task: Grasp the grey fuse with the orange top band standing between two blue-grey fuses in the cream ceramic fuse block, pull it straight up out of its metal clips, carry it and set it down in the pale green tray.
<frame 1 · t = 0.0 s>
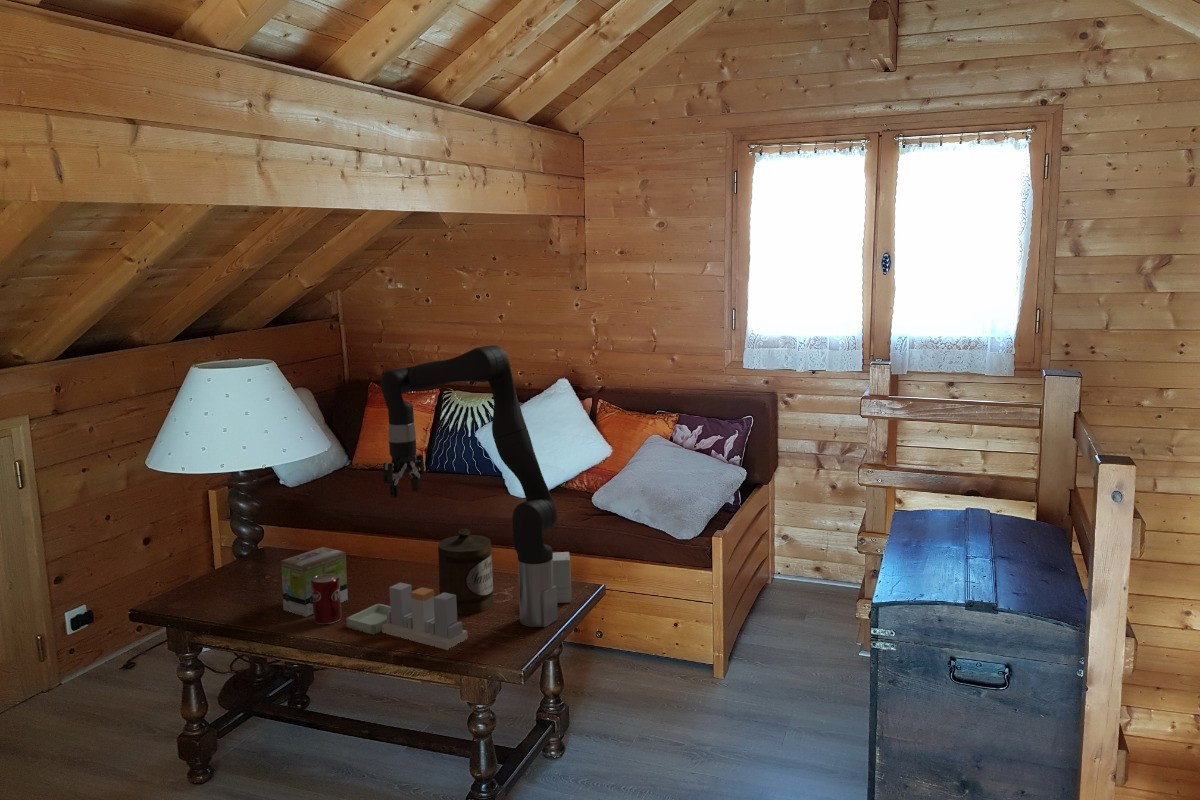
hand: (405, 494, 267), 29 cm above the table, tool pointing down, fingers open, 8 cm apart
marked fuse: (424, 628, 240), point 2 cm above the table, touching fuse block
soda can: (327, 621, 252), on the table
tea box: (316, 606, 262), on the table
tray: (376, 622, 249), on the table
supplement box: (558, 599, 264), on the table
wooden container: (467, 605, 261), on the table
fuse block: (424, 635, 240), on the table
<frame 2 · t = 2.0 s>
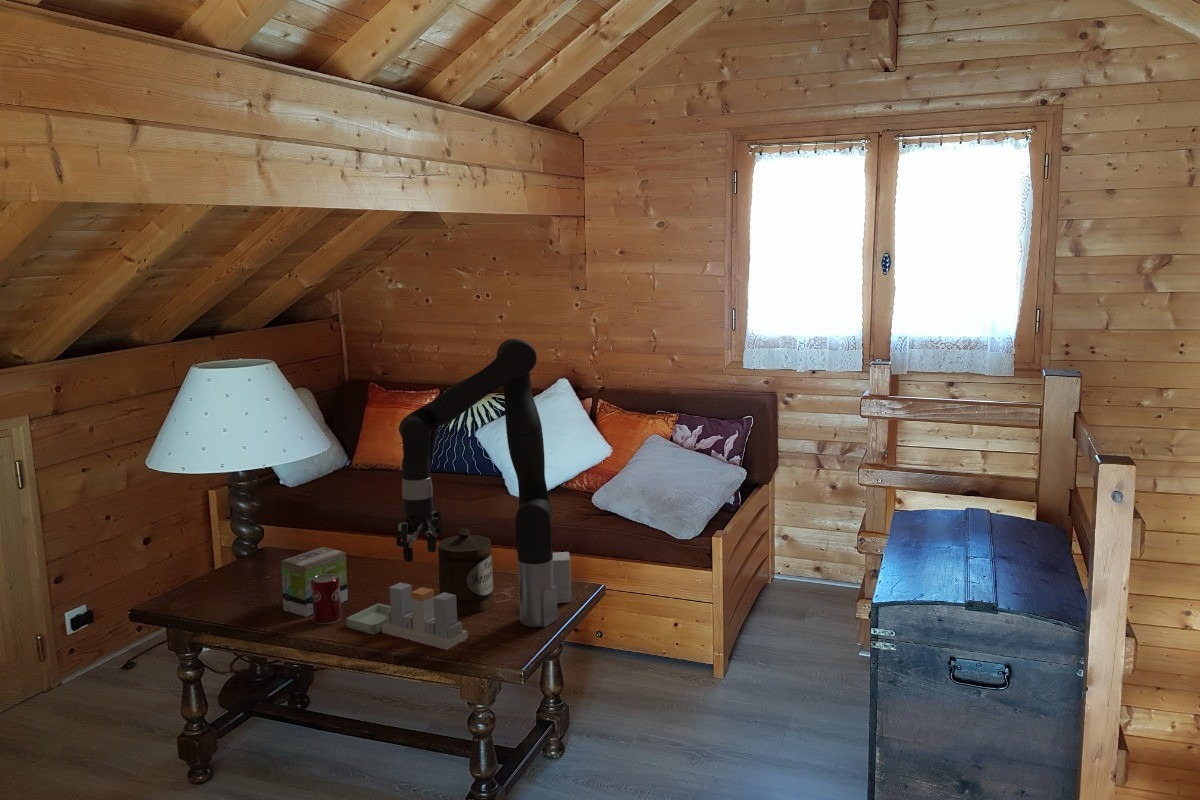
hand: (420, 556, 237), 21 cm above the table, tool pointing down, fingers open, 8 cm apart
nothing on the table moved.
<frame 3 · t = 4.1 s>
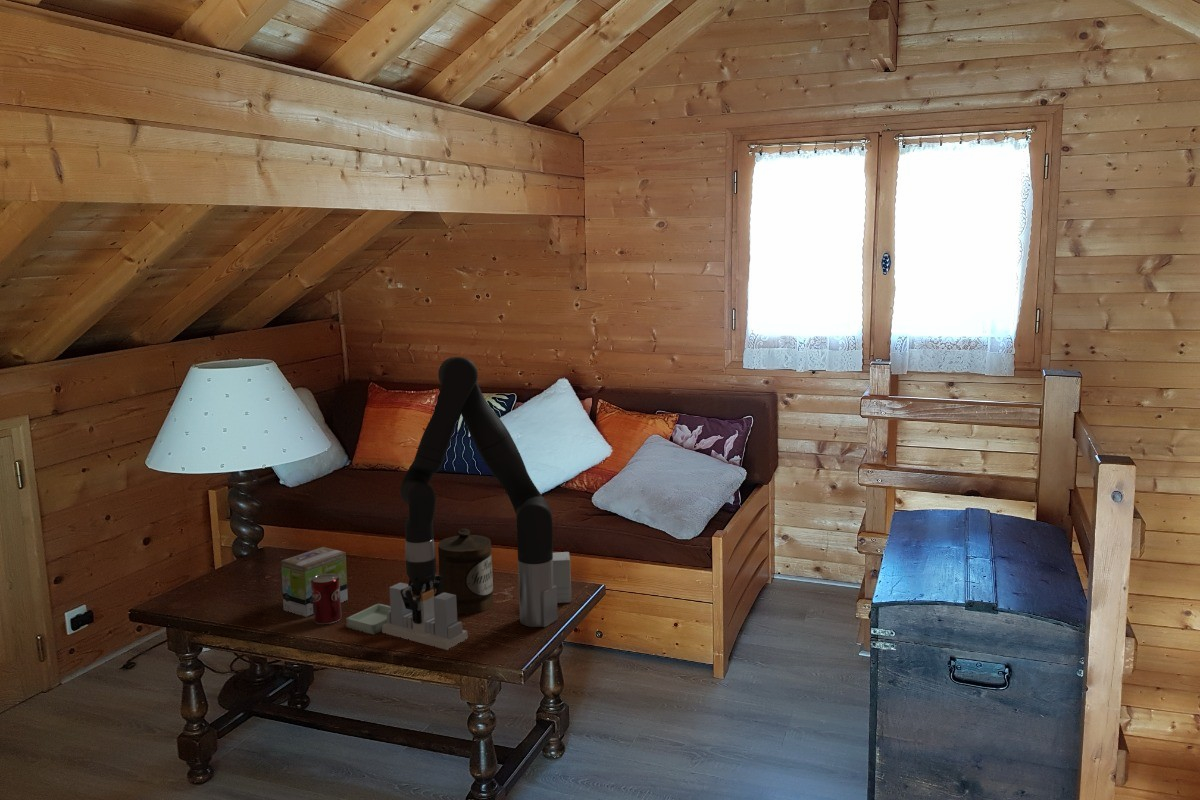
hand: (423, 619, 240), 4 cm above the table, tool pointing down, fingers closed on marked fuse, 4 cm apart
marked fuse: (424, 628, 240), point 2 cm above the table, touching fuse block, gripper
everything else where it was.
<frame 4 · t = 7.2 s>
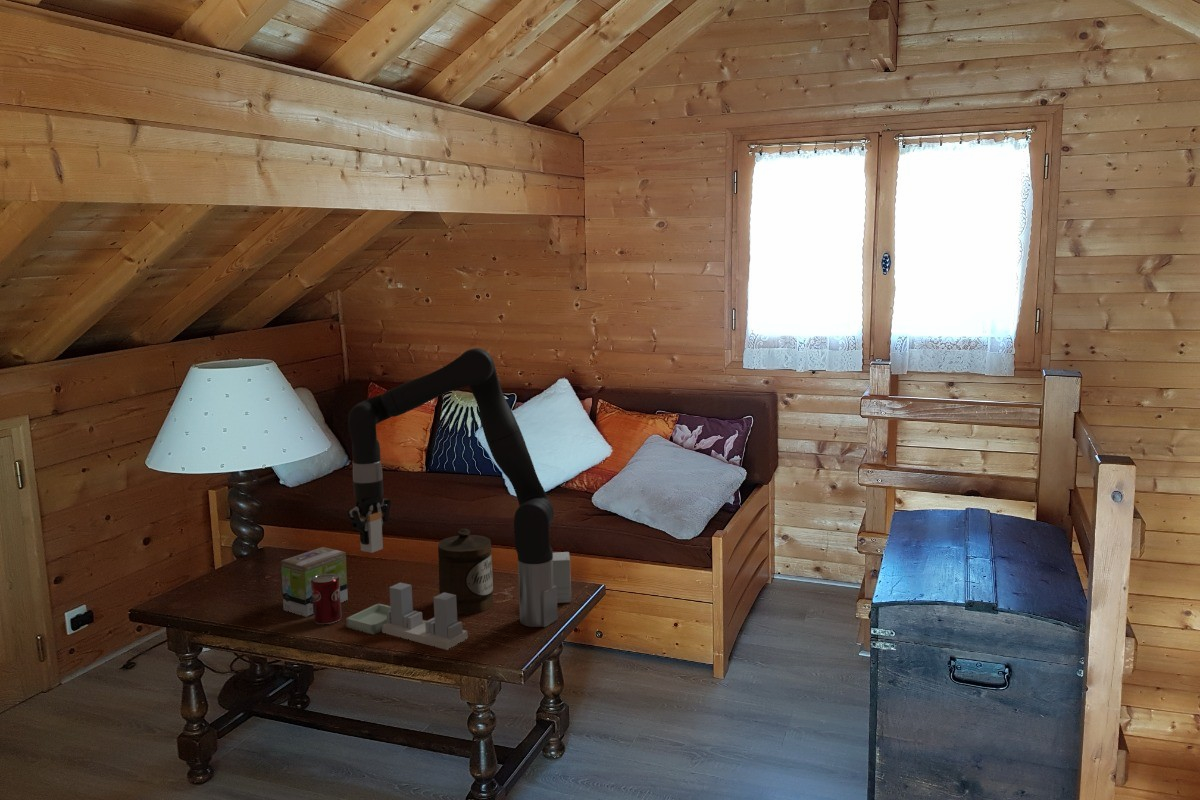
hand: (371, 541, 246), 23 cm above the table, tool pointing down, fingers closed on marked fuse, 4 cm apart
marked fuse: (371, 549, 246), point 20 cm above the table, touching gripper
everything else where it was.
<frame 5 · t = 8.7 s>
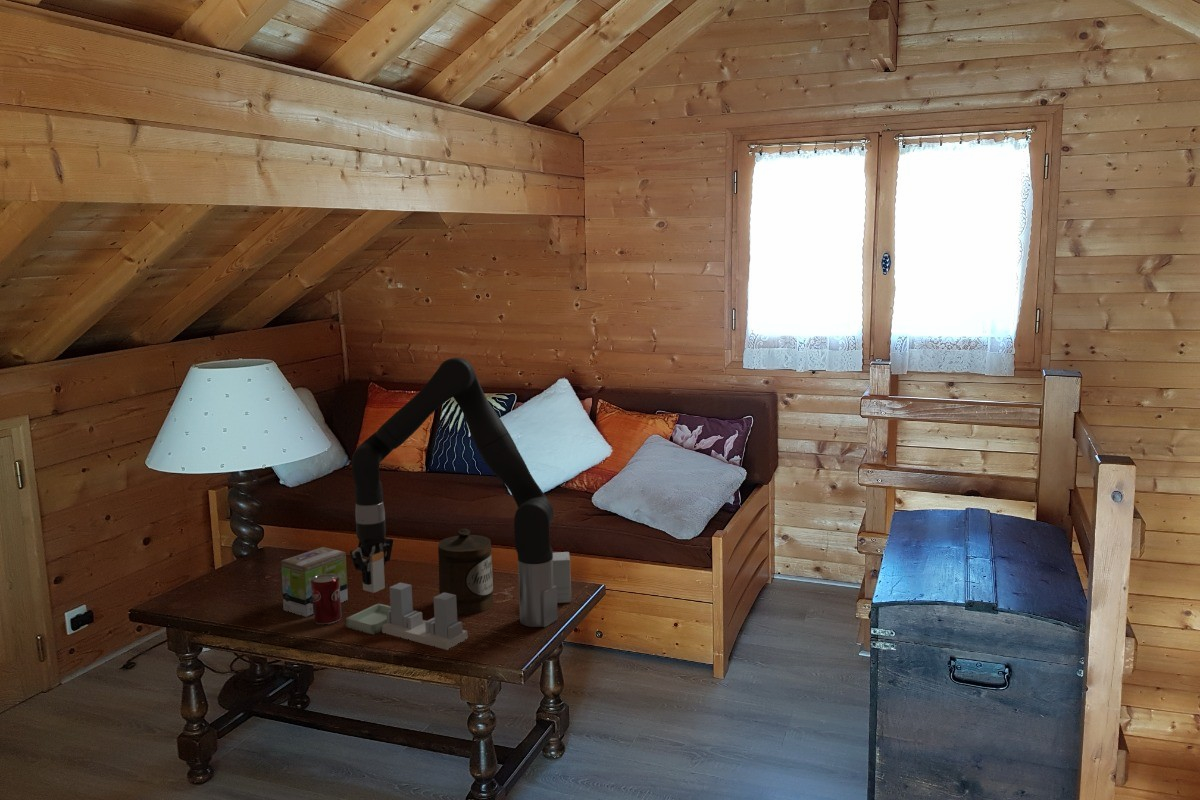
hand: (373, 581, 247), 12 cm above the table, tool pointing down, fingers closed on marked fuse, 4 cm apart
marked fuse: (374, 589, 248), point 9 cm above the table, touching gripper
everything else where it was.
when the fingers open (5 cm above the table, at t = 10.2 s): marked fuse drops 2 cm, resting on tray.
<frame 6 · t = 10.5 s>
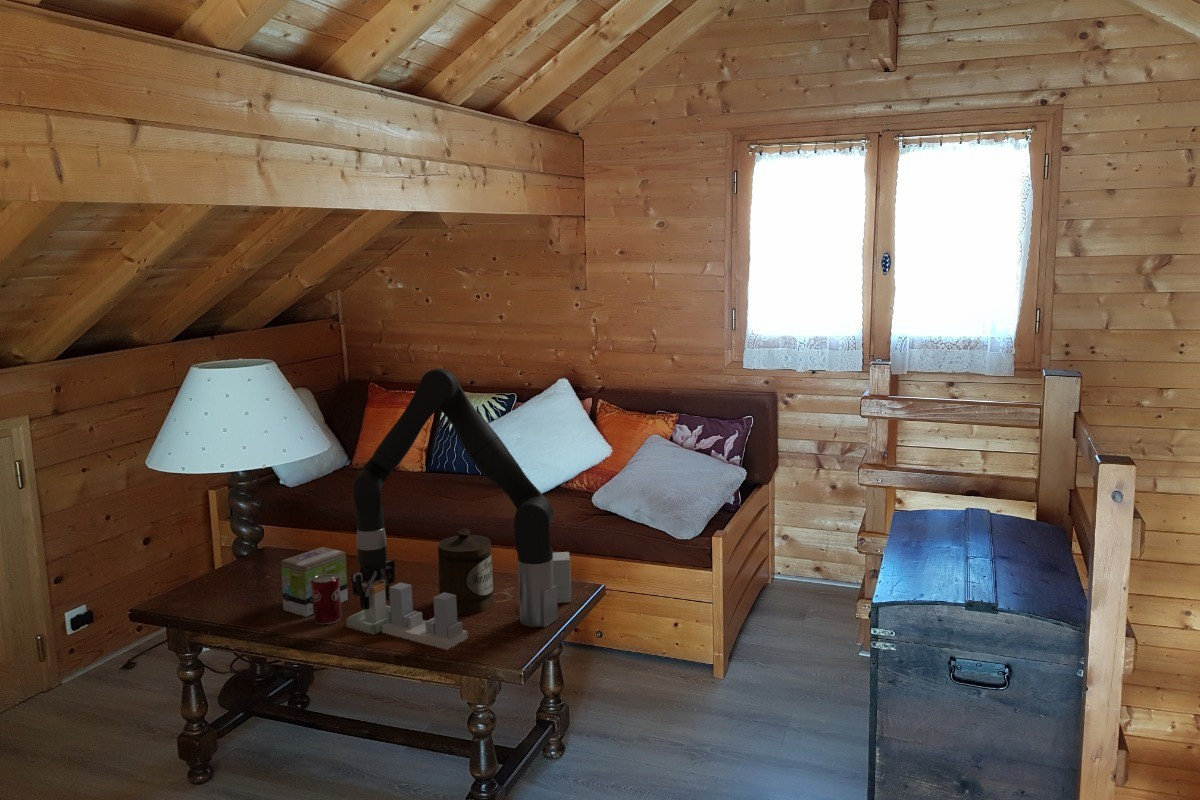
hand: (375, 604, 248), 5 cm above the table, tool pointing down, fingers open, 6 cm apart
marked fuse: (376, 620, 249), point 1 cm above the table, touching tray
everything else where it was.
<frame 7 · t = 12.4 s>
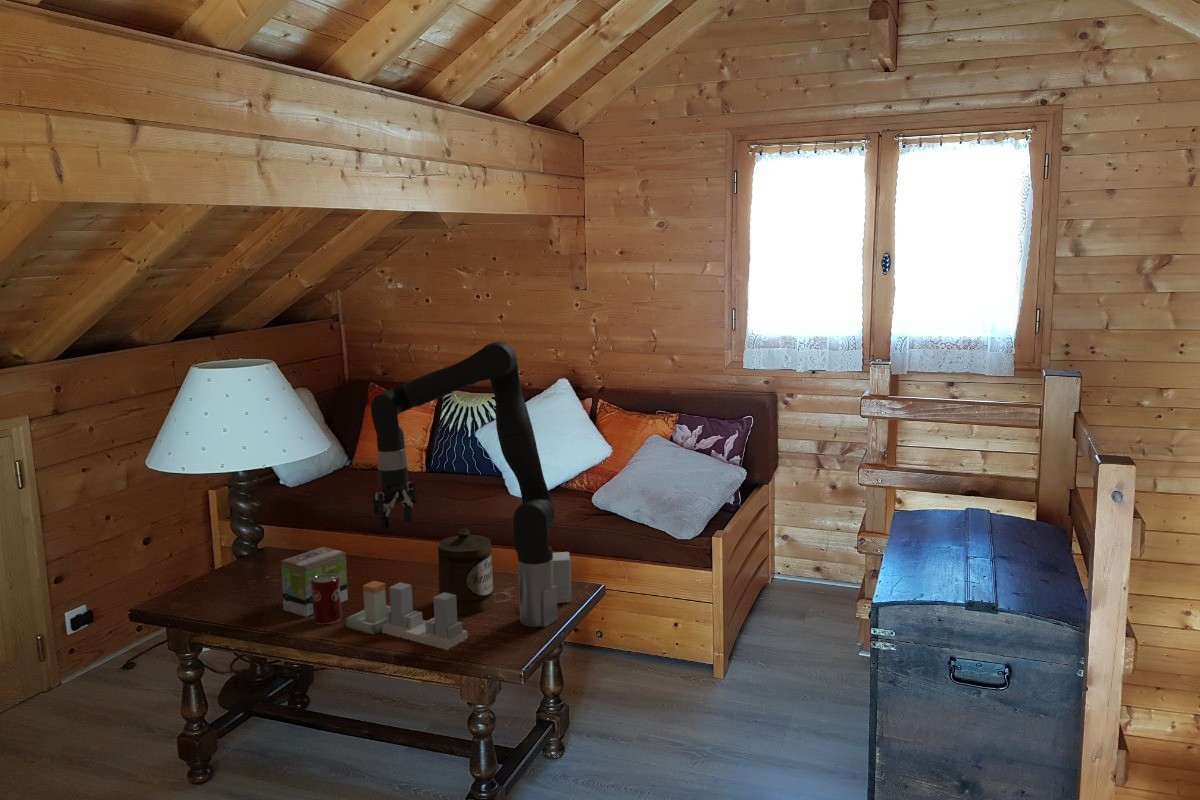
hand: (397, 525, 249), 26 cm above the table, tool pointing down, fingers open, 8 cm apart
nothing on the table moved.
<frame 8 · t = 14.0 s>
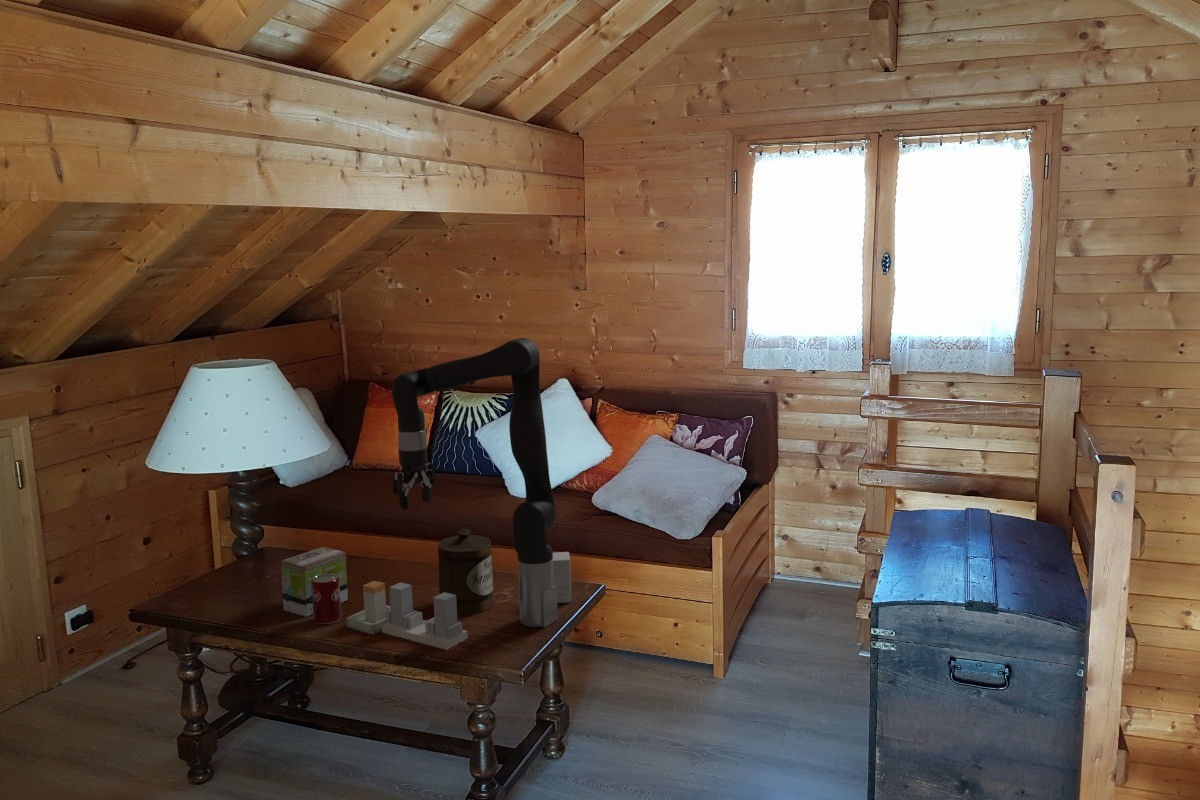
hand: (415, 505, 252), 30 cm above the table, tool pointing down, fingers open, 8 cm apart
nothing on the table moved.
at the end: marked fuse inside the target area on the tray (0.1 cm from its centre), point 0.8 cm above the tray's base; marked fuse tilted 0°; the gripper is holding nothing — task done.
